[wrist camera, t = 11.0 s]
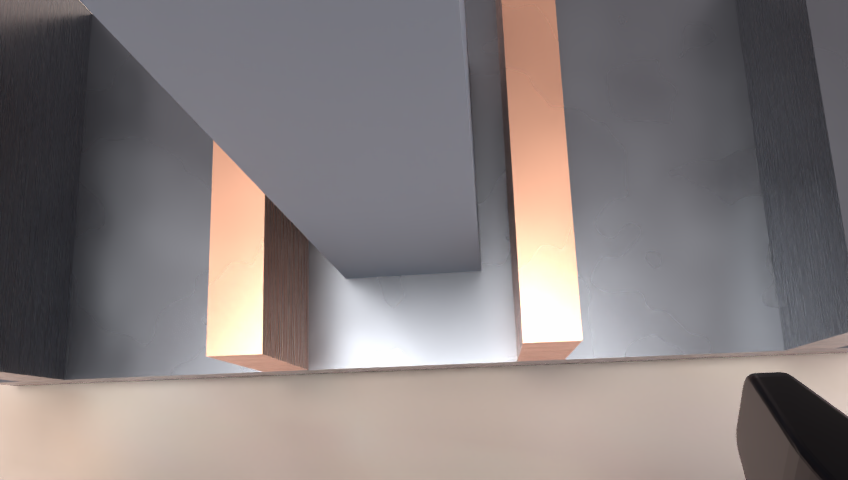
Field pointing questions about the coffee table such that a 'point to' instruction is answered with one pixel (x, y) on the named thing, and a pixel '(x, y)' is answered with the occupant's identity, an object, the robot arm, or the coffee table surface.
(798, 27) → the rack
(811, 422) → the robot arm
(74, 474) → the coffee table surface
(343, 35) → the blue-gray rectangular block
